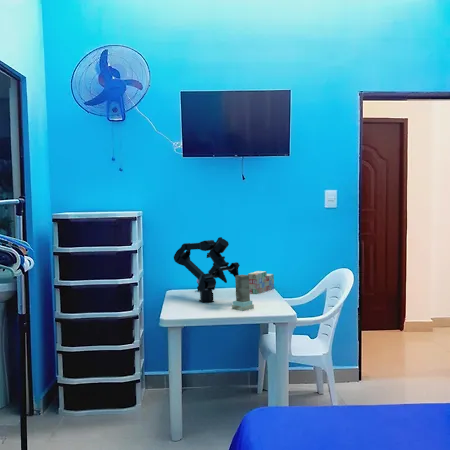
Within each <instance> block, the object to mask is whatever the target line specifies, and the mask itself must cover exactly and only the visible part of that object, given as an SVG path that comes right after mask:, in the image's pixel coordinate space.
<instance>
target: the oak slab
mask: <svg viewBox="0 0 450 450" xmlns="http://www.w3.org/2000/svg"><path fill="white" fill-rule="evenodd" d="M254 308H255V305H254V304H253V303H252V305H249V306H245V307H241V306H235V305H233V304H231V310H236V311H241V312H245V311H246V312H247V311H249V309H250V310H254Z"/></svg>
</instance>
